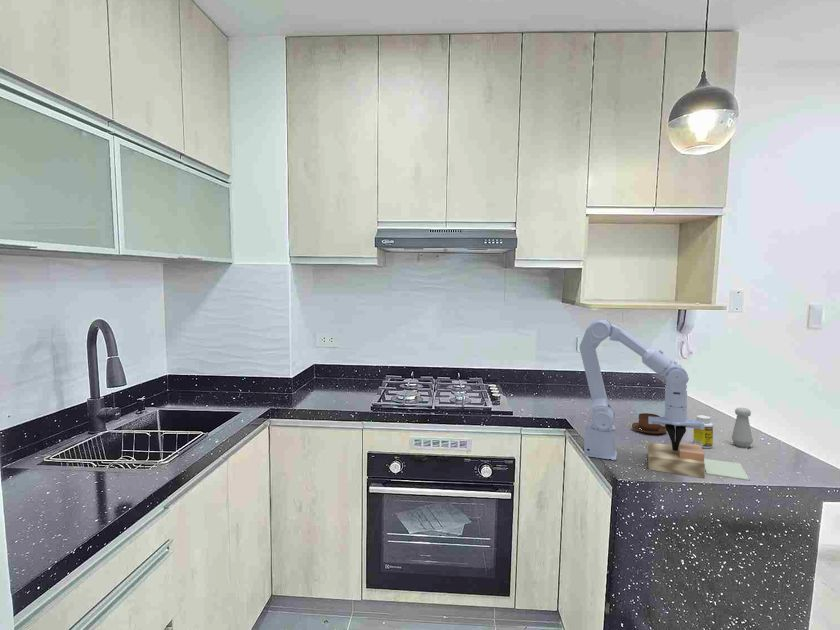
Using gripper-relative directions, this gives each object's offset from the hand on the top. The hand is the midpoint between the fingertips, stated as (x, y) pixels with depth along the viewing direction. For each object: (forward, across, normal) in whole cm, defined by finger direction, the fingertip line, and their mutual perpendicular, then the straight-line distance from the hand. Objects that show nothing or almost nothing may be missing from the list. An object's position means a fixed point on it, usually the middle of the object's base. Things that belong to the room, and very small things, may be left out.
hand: (675, 449), depth 133 cm
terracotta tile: (+1, +4, 0) cm, 4 cm away
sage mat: (+5, +13, +3) cm, 14 cm away
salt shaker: (+5, +22, +30) cm, 37 cm away
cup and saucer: (+5, -6, +35) cm, 36 cm away
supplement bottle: (+5, +10, +24) cm, 26 cm away
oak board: (+5, 0, 0) cm, 5 cm away
